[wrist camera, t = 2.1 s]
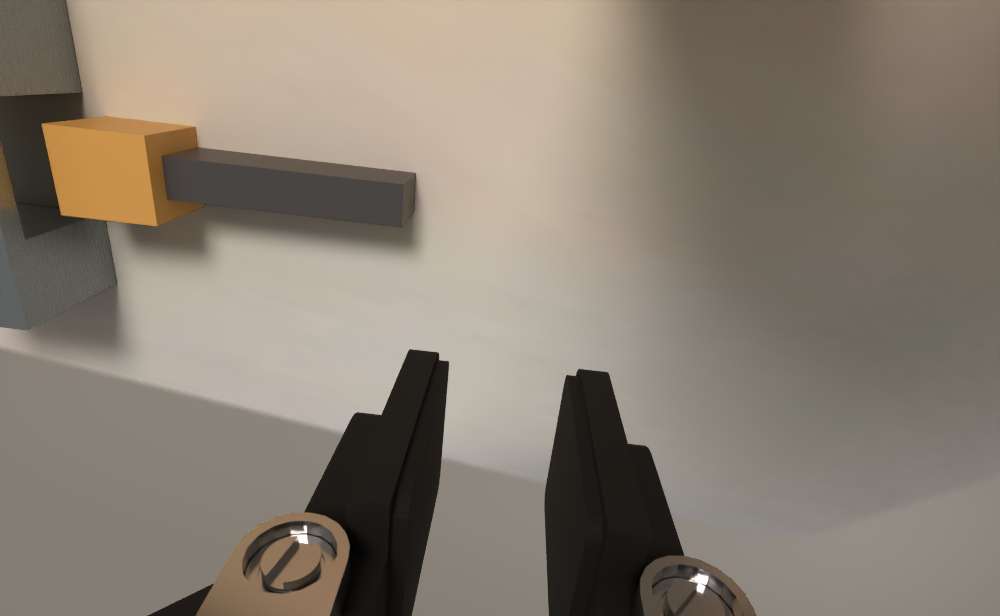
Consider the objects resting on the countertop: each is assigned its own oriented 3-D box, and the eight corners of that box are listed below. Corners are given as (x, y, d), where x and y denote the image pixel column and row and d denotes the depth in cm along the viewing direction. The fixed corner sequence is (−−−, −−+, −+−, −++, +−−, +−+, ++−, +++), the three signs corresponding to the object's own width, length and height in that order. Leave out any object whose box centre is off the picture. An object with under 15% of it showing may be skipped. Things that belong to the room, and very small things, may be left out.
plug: (82, 113, 27) (13, 120, 24) (416, 152, 27) (399, 165, 24) (97, 193, 29) (35, 211, 25) (413, 230, 29) (396, 254, 25)
